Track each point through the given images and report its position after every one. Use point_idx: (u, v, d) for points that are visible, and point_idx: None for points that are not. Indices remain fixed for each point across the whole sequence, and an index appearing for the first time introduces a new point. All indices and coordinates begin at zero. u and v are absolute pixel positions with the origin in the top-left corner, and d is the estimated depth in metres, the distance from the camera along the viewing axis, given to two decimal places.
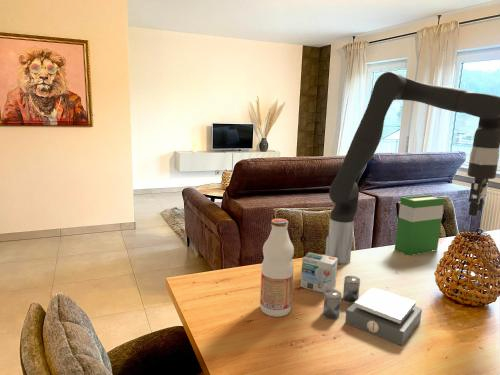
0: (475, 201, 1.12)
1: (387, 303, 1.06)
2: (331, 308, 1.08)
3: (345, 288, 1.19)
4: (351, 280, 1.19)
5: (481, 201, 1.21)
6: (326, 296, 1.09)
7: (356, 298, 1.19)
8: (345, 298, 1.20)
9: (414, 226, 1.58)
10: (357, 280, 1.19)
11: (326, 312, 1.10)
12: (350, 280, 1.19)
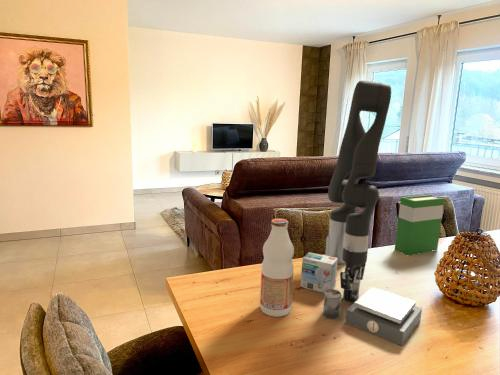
0: (346, 289, 1.16)
1: (387, 303, 1.06)
2: (331, 308, 1.08)
3: None
4: None
5: None
6: (326, 296, 1.09)
7: (356, 298, 1.19)
8: None
9: (414, 226, 1.58)
10: (357, 280, 1.19)
11: (326, 312, 1.09)
12: None
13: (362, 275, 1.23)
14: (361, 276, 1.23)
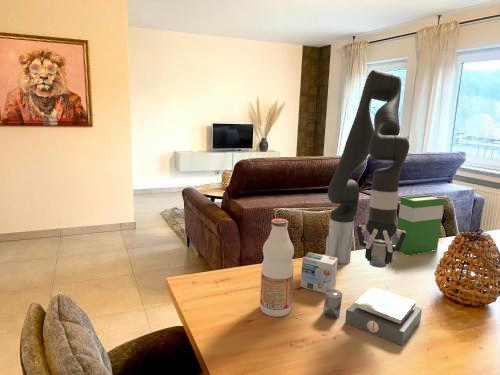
0: None
1: (387, 303, 1.06)
2: (332, 308, 1.08)
3: None
4: (375, 241, 1.09)
5: (387, 253, 1.08)
6: (327, 296, 1.09)
7: (374, 262, 1.09)
8: None
9: (414, 226, 1.58)
10: (379, 243, 1.08)
11: (327, 312, 1.09)
12: (374, 241, 1.10)
13: (398, 246, 1.06)
14: (395, 246, 1.06)
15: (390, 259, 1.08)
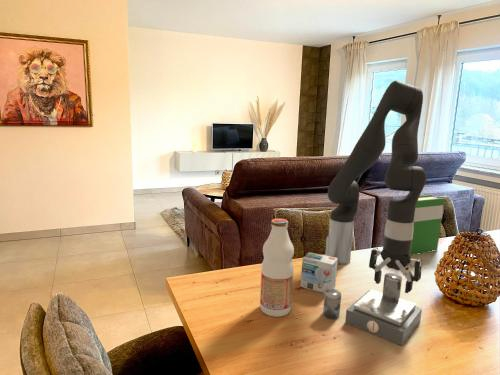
0: None
1: (387, 305, 1.07)
2: (333, 309, 1.08)
3: None
4: (388, 275, 1.10)
5: None
6: (327, 297, 1.08)
7: (386, 296, 1.09)
8: None
9: (414, 226, 1.58)
10: (391, 278, 1.08)
11: (327, 312, 1.09)
12: (388, 275, 1.10)
13: (415, 276, 1.04)
14: (413, 276, 1.04)
15: (409, 288, 1.06)
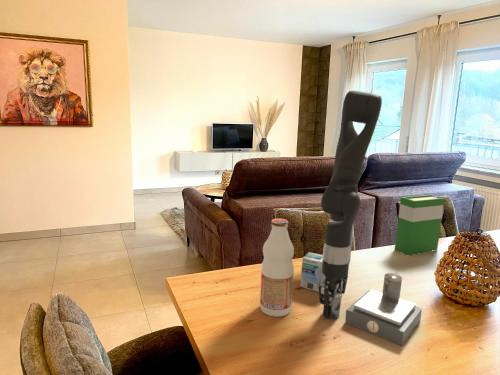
0: (325, 304, 1.06)
1: (387, 305, 1.07)
2: (335, 308, 1.08)
3: None
4: (388, 275, 1.10)
5: None
6: (329, 297, 1.08)
7: (386, 296, 1.09)
8: None
9: (414, 226, 1.58)
10: (391, 278, 1.08)
11: None
12: (388, 275, 1.10)
13: (344, 289, 1.13)
14: (343, 290, 1.13)
15: None
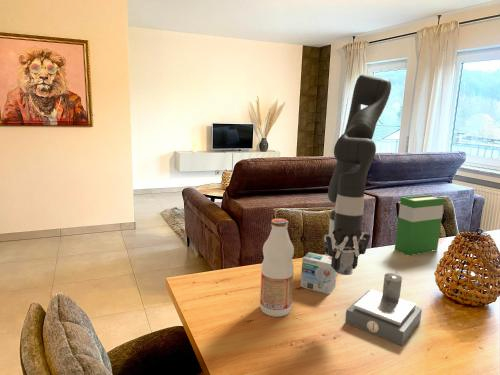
0: (328, 254, 1.03)
1: (387, 305, 1.07)
2: (343, 263, 1.04)
3: None
4: (388, 275, 1.10)
5: None
6: None
7: (386, 296, 1.09)
8: None
9: (414, 226, 1.58)
10: (391, 278, 1.08)
11: None
12: (388, 275, 1.10)
13: (363, 249, 1.05)
14: (361, 249, 1.05)
15: (356, 263, 1.06)
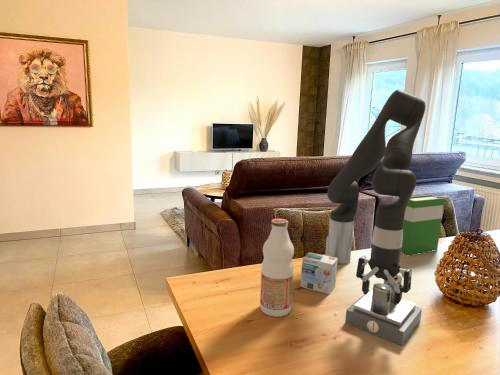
0: None
1: None
2: (373, 300, 1.03)
3: None
4: None
5: None
6: None
7: None
8: None
9: (414, 226, 1.58)
10: None
11: (371, 302, 1.04)
12: None
13: (404, 287, 0.97)
14: (403, 287, 0.98)
15: (398, 300, 0.99)
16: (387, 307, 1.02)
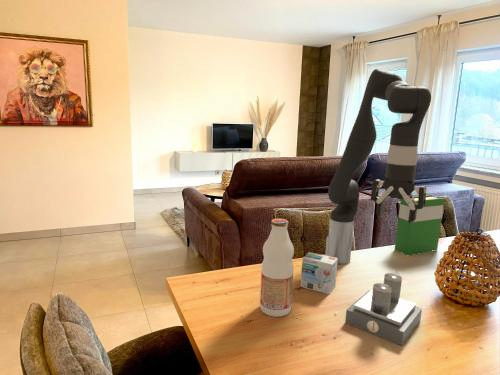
0: None
1: None
2: (373, 300, 1.03)
3: None
4: (388, 275, 1.10)
5: None
6: None
7: None
8: None
9: (414, 226, 1.58)
10: (391, 278, 1.08)
11: (371, 302, 1.05)
12: (388, 275, 1.10)
13: (419, 203, 0.99)
14: (417, 204, 1.00)
15: (412, 217, 1.01)
16: (387, 307, 1.02)
